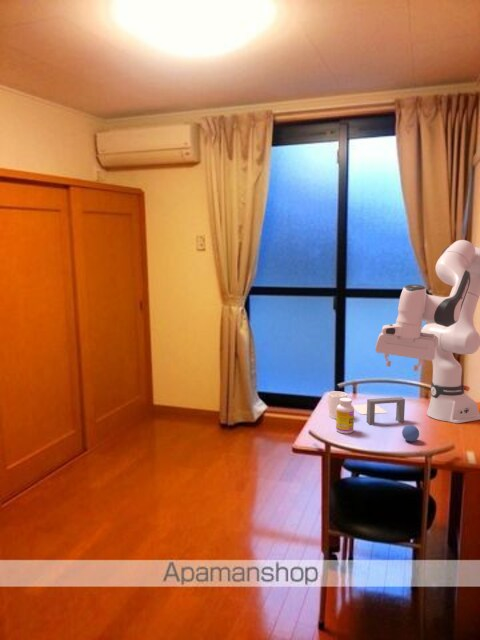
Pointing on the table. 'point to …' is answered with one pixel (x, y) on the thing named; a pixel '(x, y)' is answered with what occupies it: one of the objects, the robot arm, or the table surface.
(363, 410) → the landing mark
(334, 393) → the white cup
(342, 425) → the supplement bottle
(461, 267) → the robot arm
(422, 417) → the table surface
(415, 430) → the ball
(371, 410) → the bridge
